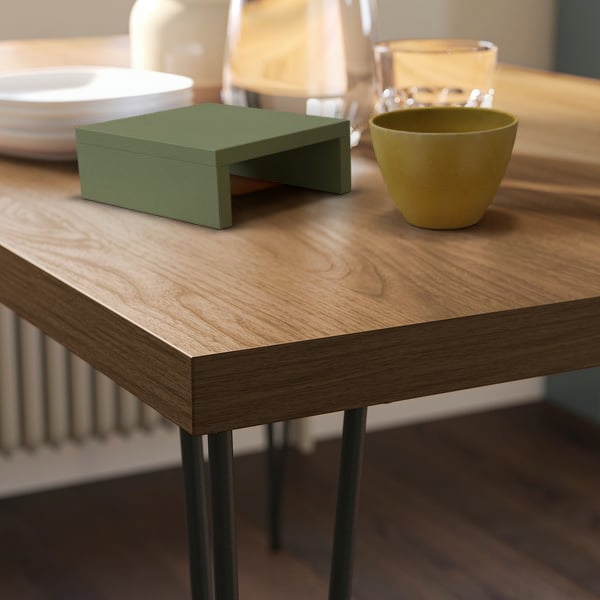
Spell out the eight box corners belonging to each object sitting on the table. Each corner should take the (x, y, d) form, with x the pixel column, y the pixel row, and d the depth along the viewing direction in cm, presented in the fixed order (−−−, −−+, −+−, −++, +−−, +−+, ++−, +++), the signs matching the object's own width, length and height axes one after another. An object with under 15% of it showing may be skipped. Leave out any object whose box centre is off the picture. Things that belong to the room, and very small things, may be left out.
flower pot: (489, 246, 76) (491, 135, 74) (346, 232, 80) (344, 127, 78) (533, 209, 84) (536, 109, 82) (402, 198, 89) (402, 103, 86)
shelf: (351, 191, 92) (350, 119, 90) (220, 229, 82) (215, 150, 80) (212, 166, 102) (208, 102, 100) (81, 198, 93) (74, 127, 91)
